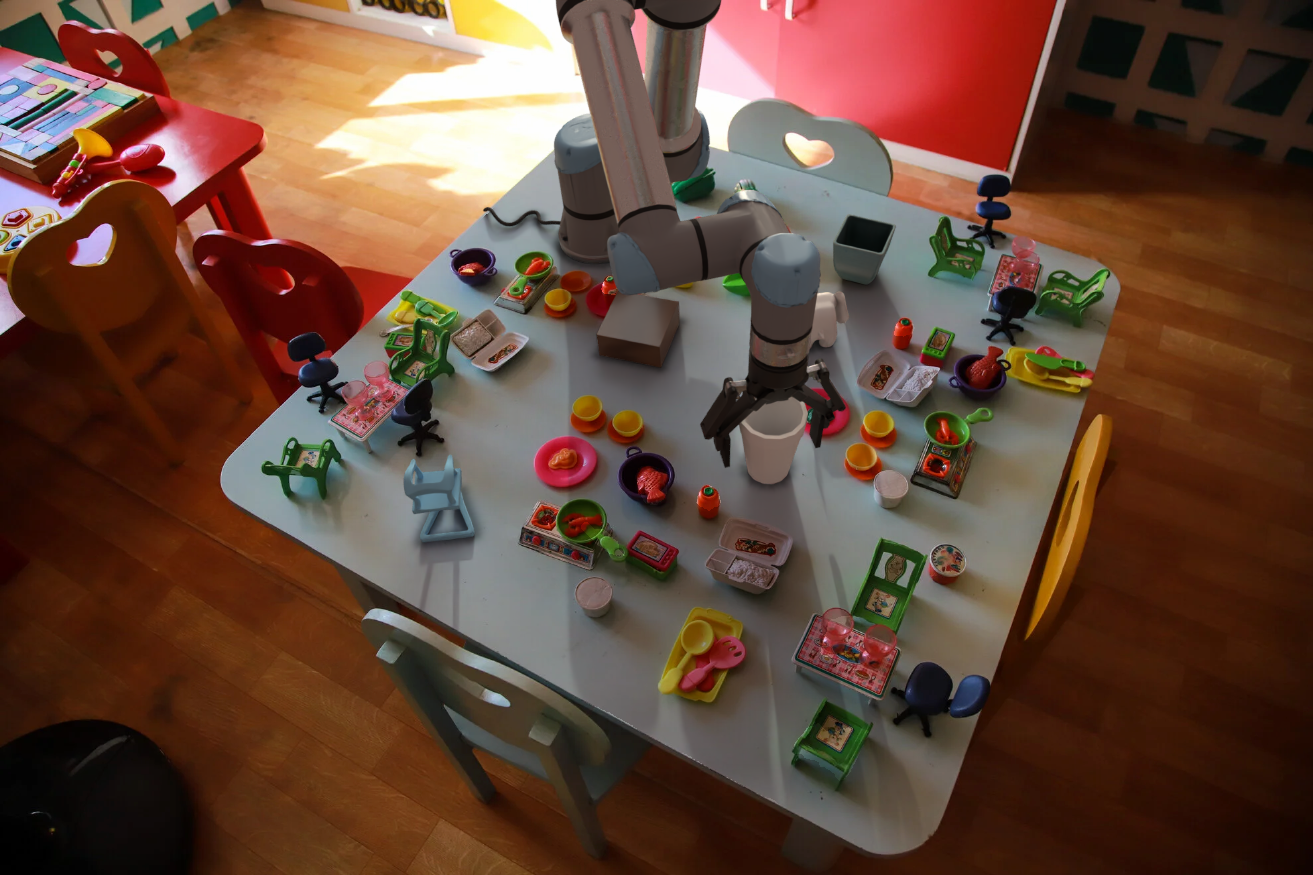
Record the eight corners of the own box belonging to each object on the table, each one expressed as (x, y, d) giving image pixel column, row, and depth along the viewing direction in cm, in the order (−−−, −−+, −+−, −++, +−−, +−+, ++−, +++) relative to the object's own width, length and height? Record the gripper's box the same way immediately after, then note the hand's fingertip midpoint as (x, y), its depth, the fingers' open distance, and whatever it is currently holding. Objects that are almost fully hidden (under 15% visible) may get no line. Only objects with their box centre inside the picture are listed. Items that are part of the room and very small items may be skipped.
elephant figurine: (830, 306, 143) (836, 267, 136) (848, 355, 136) (856, 317, 129) (776, 312, 143) (780, 273, 136) (791, 363, 136) (796, 324, 129)
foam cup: (799, 443, 125) (807, 388, 115) (800, 494, 120) (808, 440, 110) (737, 440, 126) (739, 385, 116) (734, 490, 121) (737, 437, 111)
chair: (476, 489, 123) (456, 441, 114) (474, 536, 118) (454, 490, 109) (425, 495, 123) (401, 447, 114) (421, 543, 118) (395, 497, 109)
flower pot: (841, 252, 152) (847, 212, 144) (888, 264, 149) (897, 224, 142) (826, 282, 147) (832, 243, 140) (874, 295, 144) (883, 255, 137)
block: (599, 355, 139) (596, 334, 135) (620, 311, 145) (617, 290, 141) (661, 367, 137) (659, 347, 133) (679, 322, 143) (679, 301, 139)
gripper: (689, 389, 99) (693, 488, 116) (885, 350, 102) (861, 452, 118) (675, 346, 104) (680, 447, 121) (862, 309, 106) (842, 414, 123)
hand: (770, 450), depth 120 cm, fingers open, 13 cm apart
